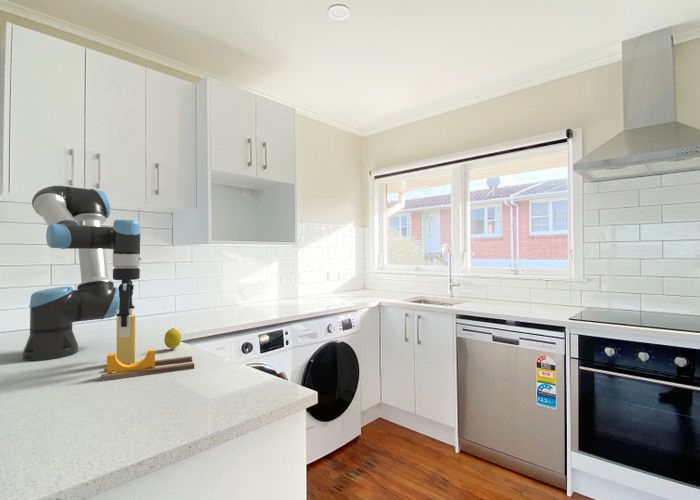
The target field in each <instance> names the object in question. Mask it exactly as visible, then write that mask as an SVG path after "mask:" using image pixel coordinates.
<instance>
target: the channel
mask: <svg viewBox="0 0 700 500" xmlns="http://www.w3.org/2000/svg"><path fill="white" fill-rule="evenodd" d="M130 364H132V363H130ZM130 364H125V365H130ZM173 364H174V365H173ZM158 366H159V367H158ZM148 367H150V366H148ZM191 368H192V369H195V363H194V362H193V357H192V355H189V356H183V357H182V356H181V357H174V358H166V359H164V358H163V359H157V360H156V359H155V368H148V369H141V370H133V371H125V372H117V373H115V372H116V371H115V370H112V372H113V373H110V374H107V365H106V366H105V367H104V368H103V371H104V374H100V377H99V379H100V382H103V380H104V381H110V380H118V379H117V378H119V379H125V378H124V377H126V378H132V377H131V376H133V377H138V376H139V375H141V376H145V375H155V373H156V374H160V373H161V374H163V373H169V372H176V371H177V370H178V371H182V370H184V369H185V370H190V369H191ZM139 377H140V376H139Z"/></svg>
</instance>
